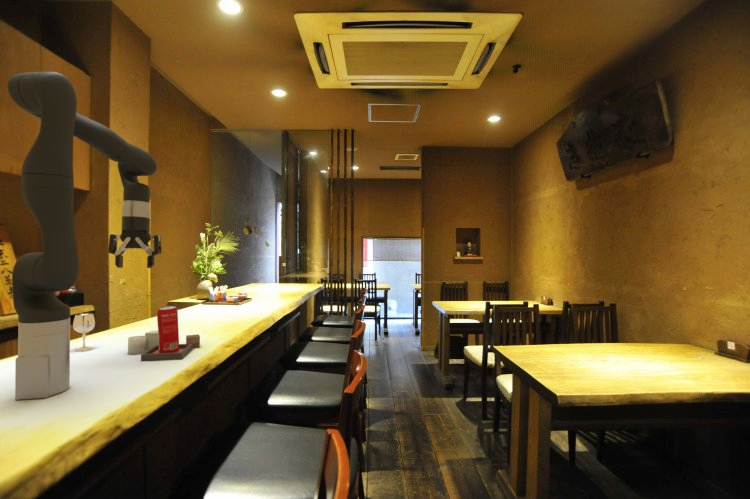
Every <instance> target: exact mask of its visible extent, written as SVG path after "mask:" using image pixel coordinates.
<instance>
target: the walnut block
mask: <svg viewBox="0 0 750 499" xmlns="http://www.w3.org/2000/svg"><path fill="white" fill-rule="evenodd" d="M185 344H193V349H199V348H200V347H201V336H200V334H190V335H189V334H188V335H186V336H185Z"/></svg>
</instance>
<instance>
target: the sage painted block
mask: <svg viewBox="0 0 750 499" xmlns="http://www.w3.org/2000/svg"><path fill="white" fill-rule="evenodd" d="M144 336H146V351H147V350H149V349H150V348H152V347H153V346H155V345H159V341H158V329H156V330H155V329H154V330H153V329H152V330H150V331H147V332H145V333H144Z"/></svg>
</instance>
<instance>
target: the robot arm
mask: <svg viewBox="0 0 750 499" xmlns="http://www.w3.org/2000/svg"><path fill="white" fill-rule="evenodd" d="M7 91H8V94H9V96H10V98H11V99H12V101H13V102H14V103H15V104H16V105H17V106H18V107H19V108H21V109H22V110H24V111H25V112H27V113H29V114H31V115H33V116H34V117H37V118H39V119H40V128H39V132H38V134H37V137H36V138H35V139H34V140H35V141H34V142H33V144H32V146H31V147H30V149H29V150H28V152H27V154H26V155H25V157H24V160H23V163H22V165H21V195H22V197H23V200H24V202H25V205H26V206H27V208H28V210H29V211H30V213H31V214H32V216H33V218H34V219H35V220H36V222H37V224H38V227H39V229H40V232H41V236H42V252H40V251H39V252H29V253H26V254H23V255H22V256H19V258H18V259H17V260H16V261H15V263H14V265H13V268H12V274H11V281H12V282H11V285H12V301H13V302H12V303H13V309H14V311H15V312H16V314H17V318H18V326H17V327H18V328H17V331H18V333H17V334H18V336H17V344H18V345H17V357H16V358H15V371H14V372H15V381H14V382H15V383H14V384H15V387H14V388H15V389H14V390H15V391H14V392H15V393H14V394H15V395H14V398H15V399H14V400H15V401H17V400H31V399H44V398H45V399H47V398H48V397H50V396H54V395H58V394H60V393H63V392H65V391H67V390H68V389H70V387H71V386H70V382H71V381H70V379H71V378H70V376H71V370H70V369H71V368H70V367H71V360H70V359H71V357H70V356H71V308H70V306H69V305H67V304H66V303H64V302H62V301H61V300H60V299H58V297H57V295H56V292H64V291H68V290H70V289H72V287H74V286H75V284H76V283H77V281H78V279H79V276H80V259H79V253H78V246H77V239H76V238H77V236H76V231H75V230H76V229H75V212H74V211H75V210H74V206H75V205H74V195H75V194H74V192H75V190H74V189H75V187H74V184H75V183H74V182H75V180H74V137H76V138H77V139H78V140H80V141H82V142H84V143H85V144H87V145H88V146H90V147H92V148H93V149H95V150H96V151H97V152H99V153H100V154H102V155H103V156H105V157H106V158H108V160H111V161H114V162H116V163H117V169H118V173H119V177H120V180H121V184H122V187H123V195H122V196H123V198H122V200H123V203H122V208H121V234H115V233H112V234H110V235H109V240H108V249H107V250H108V254H112V255H114V256H115V258H114V265H115V266H116V267H117V268H120V269H123V267H124V254H125V252H126V251H128V250H129V249H141V250H143V251H144V252H145V253H146V254H147V256H146V259H147V263H146V267H147V269H152V268H153V267H155V256H157V255H161V254H162V237H161V235H159V234H155V235H151V233H150V232H151V215H152V214H151V205H150V202H151V200H150V199H151V188H150V186H149V185H147V184H145V183H142V182H140V181H139V180H138V179H139V178H138V177H149V176H153V175H154V174H155V173H156V172H157V169H158V165H157V164H158V163H157V161H156V159H155V158H154V157H153V156H152V155H151V154H150V153H149V152H147V151H146V150H144V149H142V148H140V147H138V146H136V145H134V144H132V143H130V142H128V141H126V139H124V138H123V137H121V136H120V135H119V134H118V133H116V131H114V130H112V129H111V128H109V127H107V126H106V125H104V124H102V123H100V122H97V121H95V120H93V119H91V118H88V117H86V116H85V115H82V114H80V113H79V112H77V111H78V110H77V109H78V106H77V105H78V99H77V97H78V96H77V93H76V90H75V87H74V85H73V83H72V82H71V81H70V80H69V79H68V77H66V75H64V74H62V73H59V72H58V71H57V72H56V71H34V72H33V71H31V72H21V73H17V74H13V75H12V76H11V77H10V78H9V79H8V81H7ZM119 241H121V242H122V243H121V244H120V245H119V247H118V242H119ZM151 241H152V243H153V248H152V247H151V245H150V244H149V242H151ZM153 249H154V250H153Z"/></svg>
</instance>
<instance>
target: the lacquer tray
mask: <svg viewBox="0 0 750 499" xmlns="http://www.w3.org/2000/svg"><path fill="white" fill-rule="evenodd" d="M192 351H193V344H186V343H179V351H178V352H177V353H159V345H155V346H153V347H152V348H150V349H149V350H147V351H146V352H144V353H142V354H140V362H157V361H177V360H180V361H181V360H183V359H184V358H185V357H186V356H187V355H189V354H190V353H191V352H192Z"/></svg>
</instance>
